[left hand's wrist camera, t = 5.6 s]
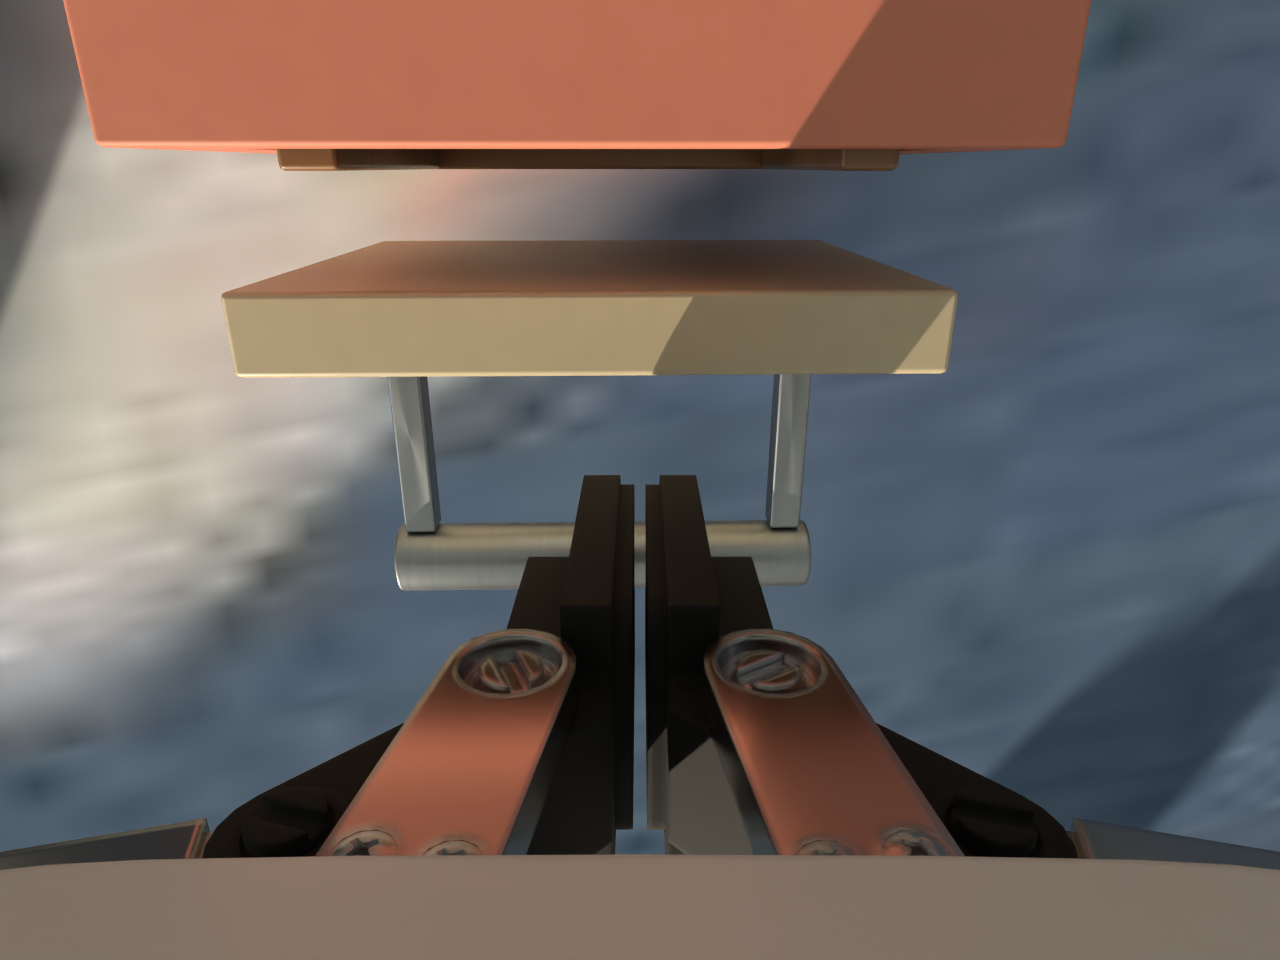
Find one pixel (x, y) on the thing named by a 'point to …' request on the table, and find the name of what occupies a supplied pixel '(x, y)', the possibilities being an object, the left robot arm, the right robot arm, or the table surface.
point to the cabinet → (579, 74)
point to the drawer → (589, 337)
